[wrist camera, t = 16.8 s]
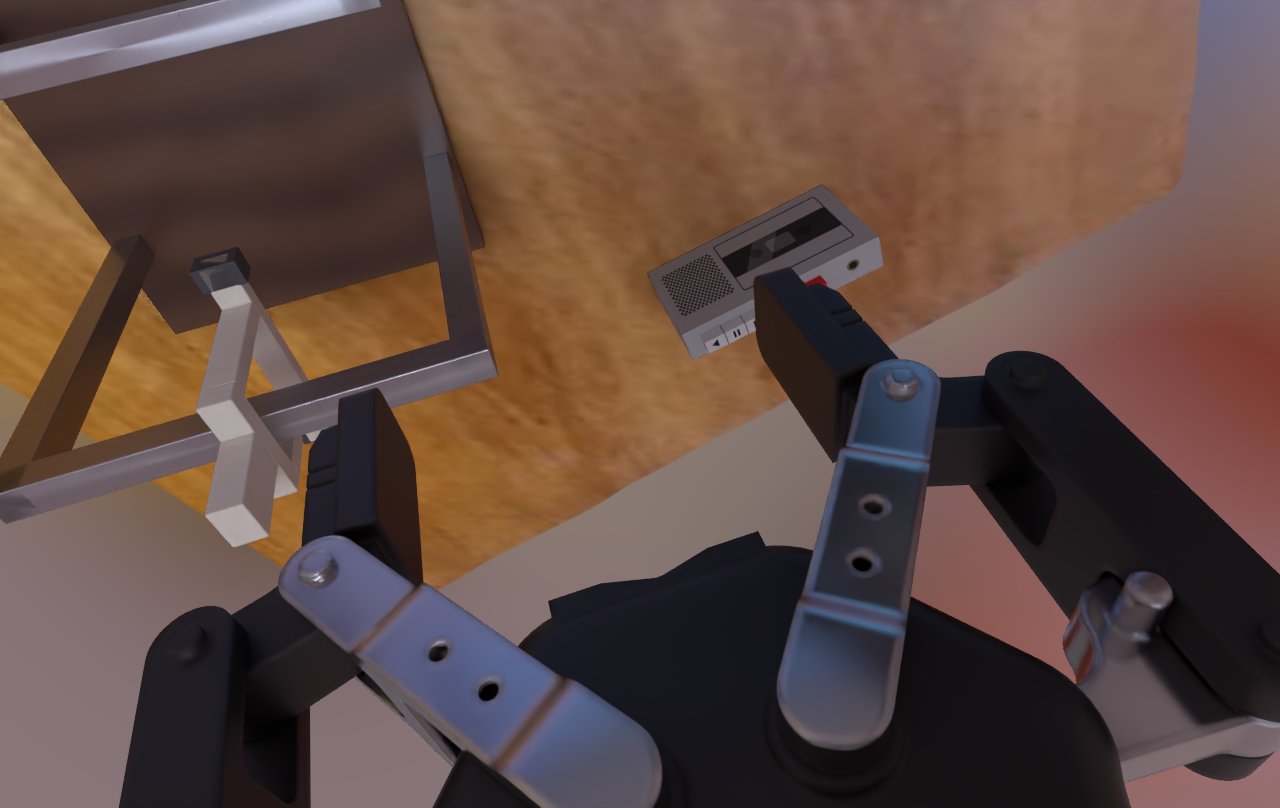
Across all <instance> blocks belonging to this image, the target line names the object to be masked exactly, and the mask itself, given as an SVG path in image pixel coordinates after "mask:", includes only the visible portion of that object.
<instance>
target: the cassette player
mask: <svg viewBox="0 0 1280 808" xmlns="http://www.w3.org/2000/svg"><path fill="white" fill-rule="evenodd" d="M882 266H884V265H883V259H882V253H881V247H880V241H879V236H878V235H877V234H875V233H874V232H873V231H872V230H871V229H870V228H869V227H868V226H867V225H866V224H864V223H863V222H862V221H861V220H860V219H859V218H858V217H857V216H856V215H855V214H854V213H852V212H851V211H850V210H849V209H848V208H847V207H846V206H845V205H844V204H843V203H841V202H840V201H839V200H838V199H837V198H836V197H835V196H834V195H833V194H832V193H830V192H829V191H828V190H827V189H826V188H825V187H824V186H823V185H820V186H818V187H816V188H814V189H812V190H810V191H808V192H806V193H804V194H802V195H800V196H798V197H796V198H794V199H792V200H790V201H788V202H786V203H784V204H782V205H780V206H778V207H776V208H774V209H772V210H770V211H768V212H767V213H765V214H763V215H761V216H759V217H757V218H755V219H753V220H751V221H749V222H747V223H745V224H743V225H741V226H739V227H737V228H735V229H733V230H731V231H729V232H727V233H725V234H723V235H721V236H719V237H717V238H715V239H713V240H711V241H709V242H707V243H705V244H703V245H701V246H699V247H697V248H696V249H694V250H692V251H690V252H688V253H686V254H684V255H682V256H680V257H678V258H676V259H674V260H672V261H670V262H668V263H666V264H664V265H662V266H660V267H658V268H656V269H654V270H652V271H650V272H648V273H647V274H648V276H649V278H650V280H651V283H652V285H653V287H654V289H655V291H656V293H657V296H658V298H659V300H660V301H661V303H662V305H663V307H664V309H665V310H666V312H667V314H668V316H669V318H670V319H671V321H672V323H673V325H674V327H675V329H676V330H677V332H678V334H679V336H680V338H681V339H682V341H683V343H684V345H685V347H686V348H687V350H688V352H689V354H690V356H691V357H692V359H693V360H695V359H697V358H699V357H701V356H703V355H705V354H707V353H709V354H710V353H712V352H714V351H716V350H718V349H720V348H722V347H724V346H726V345H728V344H730V343H732V342H734V341H736V340H738V339H740V338H742V337H744V336H746V335H748V334H750V333H752V332H754V331H756V324H755V307H754V290H753V282H754V278H755V277H756V276H758V275H762V274H765V273H769V272H772V271H775V270H779V269H782V268H786V267H790V268H792V269H793V270H794V271H795V273H796V274H797V275H798V276H799V277H800V278H801V280H802V281H803V282H804V283H805V284H806V285H807V286H808V285H811V284H814V283H818V282H819V283H821V284H823V285H825V286H827V287H829V288H831V289H833V290H835V289H837V288H839V287H841V286H843V285H845V284H847V283H849V282H851V281H854V280H856V279H858V278H860V277H862V276H864V275H866V274H868V273H870V272H872V271H874V270H876V269H878V268H880V267H882Z"/></svg>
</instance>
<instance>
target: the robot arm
mask: <svg viewBox="0 0 1280 808" xmlns="http://www.w3.org/2000/svg"><path fill="white" fill-rule="evenodd" d="M753 290H754V307H755V324H756V337H757V342H758V346H759V349H760V352H761V355H762V357H763V359H764V361H765V363H766V364H767V366H768V367H769V369H770V370H771V372H772V373H773V374H774V376H775V377H776V379H777V380H778V382H779V383H780V385H781V386H782V388H783V389H784V391H785V392H786V394H787V395H788V397H789V398H790V400H791V401H792V403H793V404H794V406H795V407H796V409H797V410H798V412H799V413H800V415H801V416H802V418H803V419H804V421H805V422H806V424H807V425H808V427H809V428H810V430H811V431H812V433H813V434H814V436H815V437H816V439H817V440H818V442H819V443H820V444H821V446H822V448H823V449H824V451H825V452H826V454H827V455H828V457H829V458H830V459H831V461H832V462H833V463H834V462H837V463H836V467H835V470H834V475H833V478H832V482H831V486H830V490H829V494H828V497H827V502H826V505H825V509H824V513H823V517H822V520H821V524H820V528H819V532H818V536H817V540H816V543H815V547H814V551H813V550H809V549H805V548H800V547H793V546H765V544H764V542H763V540H762V538H761V536H760V534H759V532H758V531H757V532H755V533H751V534H748V535H745V536H742V537H739V538H736V539H733V540H730V541H727V542H724V543H721V544H718V545H715V546H712V547H709V548H707V549H705V550H704V551H702V552H700V553H699V554H697V555H695V556H694V557H692V558H690V559H689V560H687V561H686V562H684V563H682V564H681V565H679V566H677V567H676V568H674V569H672V570H671V571H669V572H667V573H666V574H664V575H662V576H660V577H657V578H651V579H641V580H630V581H621V582H610V583H601V584H598V585H595V586H592V587H589V588H586V589H583V590H580V591H577V592H574V593H571V594H568V595H565V596H562V597H559V598H556V599H553V600H550V601H548V602H549V607H550V612H551V616H552V618H550V619H549V620H547V621H545V622H544V623H542V624H541V625H540V626H539V627H537V628H536V629H535V630H533V631H532V632H531V633H530V634H529V635H528V636H527V637H526V638H525V639H524V640H523V641H522V642H521V643H520V644H519V646H516V645H515V644H513V643H512V642H510V641H509V640H508V639H506V638H505V637H503V636H502V635H500V634H499V633H498V632H496V631H494V630H493V629H492V628H490V627H489V626H488V625H486V624H485V623H483V622H482V621H480V620H479V619H478V618H476V617H475V616H473V615H472V614H470V613H469V612H468V611H466V610H464V609H463V608H462V607H460V606H459V605H457V604H456V603H455V602H453V601H452V600H450V599H449V598H447V597H446V596H445V595H443V594H442V593H440V592H439V591H438V590H436V589H435V588H433V587H432V586H430V585H428V584H427V583H424V582H423V569H422V555H421V541H420V527H419V513H418V499H417V485H416V471H415V463H414V459H413V455H412V452H411V449H410V446H409V444H408V441H407V439H406V437H405V435H404V433H403V432H402V430H401V428H400V426H399V424H398V422H397V420H396V418H395V417H394V415H393V413H392V411H391V409H390V407H389V405H388V403H387V401H386V400H385V398H384V396H383V394H382V392H381V391H380V390H379V389H378V388H373V389H369V390H366V391H363V392H359V393H356V394H353V395H349V396H346V397H342V398H340V399H339V403H338V424H337V425H336V426H333V427H330V428H326V429H323V430H321V431H320V433H319V435H318V437H317V438H316V440H315V442H314V444H313V445H312V447H311V449H310V451H309V461H308V473H309V474H308V475H307V485H306V487H307V491H306V497H305V510H304V522H303V534H302V546H301V548H300V549H299V550H297V551H296V552H295V553H294V554H293V555H292V556H291V557H290V558H289V560H288V561H287V562H286V563H285V565H284V567H283V568H282V571H281V573H280V576H279V580H278V586H277V587H276V588H274V589H273V590H272V591H270V592H269V593H267V594H266V595H264V596H263V597H261V598H259V599H258V600H256V601H254V602H253V603H251V604H249V605H248V606H246V607H244V608H243V609H241V610H239V611H237V612H236V613H234V614H233V615H230V614H229V613H228V612H227V611H226V610H225V609H223V608H220V607H217V606H205V607H200V608H196V609H193V610H191V611H189V612H186V613H185V614H183V615H181V616H179V617H178V618H177V619H175V620H174V621H172V622H171V623H170V624H169V625H168V626H166V627H165V628H164V629H163V630H162V631H161V632H160V633H159V635H158V636H157V637H156V639H155V640H154V642H153V643H152V645H151V646H150V648H149V651H148V653H147V656H146V660H145V665H144V671H143V677H142V682H141V688H140V693H139V698H138V704H137V710H136V715H135V721H134V727H133V732H132V738H131V743H130V749H129V755H128V760H127V765H126V771H125V776H124V782H123V788H122V793H121V799H120V804H119V808H311V805H310V803H311V800H310V799H311V797H310V706H311V705H313V704H314V703H316V702H317V701H319V700H320V699H322V698H323V697H325V696H326V695H328V694H329V693H331V692H332V691H334V690H336V689H337V688H338V687H340V686H342V685H343V684H344V683H346V682H348V681H349V680H351V679H352V678H355V679H356V680H357V681H359V682H360V683H361V684H362V685H363V686H364V687H366V688H367V689H368V690H369V691H370V692H371V693H372V694H373V695H375V696H376V697H377V698H378V699H379V700H380V701H382V702H383V703H384V704H385V705H386V706H387V707H388V708H389V709H391V710H392V711H393V712H394V713H395V714H396V715H398V716H399V717H400V718H401V719H402V720H403V721H404V722H406V723H407V724H408V725H409V726H410V727H411V728H412V729H413V730H415V731H416V732H417V733H418V734H419V735H420V736H421V737H422V738H423V739H424V740H425V741H426V742H427V743H428V744H429V745H430V746H431V747H432V748H433V749H434V750H435V751H436V752H437V753H438V754H439V755H440V756H441V757H442V758H443V759H444V760H445V761H446V762H447V763H449V764H450V765H451V766H452V767H453V768H452V770H451V772H450V774H449V776H448V778H447V780H446V782H445V784H444V786H443V788H442V790H441V792H440V794H439V796H438V798H437V800H436V802H435V804H434V806H433V808H1131V806H1130V802H1129V799H1128V795H1127V792H1126V788H1125V784H1124V783H1126V782H1130V781H1133V780H1136V779H1139V778H1143V777H1146V776H1149V775H1153V774H1156V773H1159V772H1163V771H1166V770H1169V769H1172V768H1176V767H1179V766H1182V765H1184V766H1185V767H1187V768H1189V769H1190V770H1192V771H1194V772H1196V773H1198V774H1200V775H1202V776H1206V777H1209V778H1212V779H1217V780H1224V781H1232V780H1239V779H1242V778H1245V777H1247V776H1249V775H1250V774H1252V773H1253V772H1254V771H1255V770H1256V769H1257V768H1258V767H1259V766H1260V765H1261V764H1262V763H1264V762H1265V761H1266V760H1267V759H1268V758H1269V757H1270V756H1271V755H1272V754H1273V753H1274V752H1275V751H1276V750H1277V749H1278V748H1280V574H1279V573H1278V572H1276V570H1275V569H1273V568H1272V567H1271V566H1270V565H1269V564H1268V563H1267V562H1266V561H1265V560H1264V559H1263V558H1262V557H1261V556H1260V555H1259V554H1258V553H1257V552H1256V551H1255V550H1254V549H1253V548H1252V547H1251V546H1249V545H1248V544H1247V543H1246V542H1245V541H1244V540H1243V539H1242V538H1241V537H1240V536H1239V535H1238V534H1237V533H1236V532H1235V531H1234V530H1233V529H1232V528H1231V527H1230V526H1229V525H1228V524H1227V523H1226V522H1224V520H1223V519H1221V518H1220V517H1219V516H1218V515H1217V514H1216V513H1215V512H1214V511H1213V510H1212V509H1211V508H1210V507H1209V506H1208V505H1207V504H1206V503H1205V502H1204V501H1203V500H1202V499H1201V498H1200V497H1199V496H1198V495H1197V494H1195V493H1194V492H1193V491H1192V490H1191V489H1190V488H1189V487H1188V486H1187V485H1186V484H1185V483H1184V482H1183V481H1182V480H1181V479H1180V478H1179V477H1178V476H1177V475H1176V474H1175V473H1174V472H1173V471H1172V470H1170V468H1169V467H1167V466H1166V465H1165V464H1164V463H1163V462H1162V461H1161V460H1160V459H1159V458H1158V457H1157V456H1156V455H1155V454H1154V453H1153V452H1152V451H1151V450H1150V449H1149V448H1148V447H1147V446H1146V445H1145V444H1144V443H1143V442H1141V441H1140V440H1139V439H1138V438H1137V437H1136V436H1135V435H1134V434H1133V433H1132V432H1131V431H1130V430H1129V429H1128V428H1127V427H1126V426H1125V425H1124V424H1123V423H1122V422H1121V421H1120V420H1119V419H1117V417H1116V416H1114V415H1113V414H1112V413H1111V412H1110V411H1109V410H1108V409H1107V408H1106V407H1105V406H1104V405H1103V404H1102V403H1101V402H1100V401H1099V400H1098V399H1097V398H1096V397H1095V396H1094V395H1093V394H1091V392H1090V391H1088V390H1087V389H1086V388H1085V387H1084V386H1083V385H1082V384H1081V383H1080V382H1079V381H1078V380H1077V379H1076V378H1075V377H1074V376H1073V375H1072V374H1071V373H1070V372H1069V371H1068V370H1067V369H1065V367H1064V366H1062V365H1061V364H1060V363H1059V362H1057V361H1056V360H1054V359H1052V358H1050V357H1048V356H1046V355H1043V354H1040V353H1035V352H1029V351H1012V352H1006V353H1003V354H1000V355H998V356H996V357H994V358H993V359H992V360H991V361H990V362H989V363H988V365H987V367H986V370H985V375H984V376H971V377H970V376H969V377H953V378H943V377H938V376H937V374H936V373H935V372H934V371H932V369H930V368H929V367H927V366H925V365H923V364H921V363H919V362H915V361H911V360H905V359H899V358H898V357H897V356H896V355H895V354H894V353H893V352H892V351H891V350H890V349H889V347H888V346H887V345H886V344H885V343H884V342H883V341H882V339H881V338H880V337H879V336H878V335H877V334H876V333H875V332H874V331H873V329H872V328H871V327H870V326H869V325H868V324H867V323H866V322H865V321H863V320H862V317H861V316H860V315H859V314H858V313H857V312H856V311H855V309H854V310H853V309H852V306H851V305H850V304H849V303H848V302H847V301H846V299H845V298H844V297H843V296H842V295H841V294H840V293H839V292H837V291H835V290H833V289H831V288H829V287H827V286H825V285H823V284H821V283H819V282H818V283H814V284H811V285H808V286H807V285H806V284H805V283H804V282H803V281H802V280H801V278H800V277H799V276H798V275H797V274H796V273H795V271H794V270H793V269H792V268H790V267H786V268H782V269H779V270H775V271H772V272H769V273H765V274H762V275H758V276H756V277H755V278H754V282H753ZM952 485H970V487H971V488H972V489H973V491H974V492H975V493H976V495H977V496H978V497H979V499H980V500H981V501H982V503H983V504H984V506H985V507H986V508H987V510H988V511H989V512H990V514H991V515H992V516H993V518H994V519H995V520H996V522H997V523H998V524H999V526H1000V527H1001V528H1002V530H1003V531H1004V532H1005V534H1006V535H1007V537H1008V538H1009V539H1010V540H1011V542H1012V543H1013V544H1014V546H1015V547H1016V549H1017V550H1018V551H1019V552H1020V554H1021V555H1022V557H1023V558H1024V559H1025V561H1026V562H1027V563H1028V565H1029V566H1030V567H1031V569H1032V570H1033V572H1034V573H1035V574H1036V576H1037V577H1038V578H1039V580H1040V581H1041V582H1042V584H1043V585H1044V586H1045V588H1046V589H1047V590H1048V592H1049V593H1050V594H1051V596H1052V597H1053V599H1054V600H1055V601H1056V603H1057V604H1058V605H1059V607H1060V608H1061V609H1062V611H1063V612H1064V613H1065V615H1066V616H1067V617H1068V619H1069V620H1070V621H1069V623H1068V625H1067V628H1066V630H1065V632H1064V635H1063V650H1064V652H1065V655H1066V658H1067V660H1068V662H1069V664H1070V666H1071V667H1072V669H1073V671H1074V675H1075V677H1076V684H1074V683H1073V682H1072V681H1070V679H1069V678H1068V677H1066V676H1065V675H1064V674H1062V673H1061V672H1059V671H1058V670H1057V669H1055V668H1053V667H1052V666H1050V665H1048V664H1047V663H1045V662H1043V661H1042V660H1040V659H1038V658H1036V657H1034V656H1032V655H1030V654H1028V653H1025V652H1024V651H1022V650H1019V649H1017V648H1015V647H1013V646H1011V645H1009V644H1007V643H1005V642H1003V641H1001V640H999V639H997V638H995V637H993V636H991V635H989V634H987V633H985V632H983V631H981V630H978V629H976V628H974V627H972V626H970V625H968V624H966V623H964V622H962V621H960V620H958V619H956V618H954V617H952V616H950V615H948V614H946V613H944V612H941V611H939V610H938V609H936V608H933V607H931V606H929V605H927V604H925V603H923V602H921V601H919V600H917V599H915V598H913V597H911V589H912V582H913V576H914V569H915V562H916V555H917V548H918V542H919V535H920V528H921V522H922V515H923V508H924V502H925V495H926V488H927V487H928V486H952Z"/></svg>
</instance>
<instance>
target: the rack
mask: <svg viewBox="0 0 1280 808" xmlns="http://www.w3.org/2000/svg"><path fill="white" fill-rule="evenodd" d="M0 100H3V101H4V102H5V103H6V105H7V106H8V107H9V109H10V110H11V111H12V113H13V114H14V115H15V117H16V118H17V120H18V121H19V122H20V124H21V125H22V126H23V128H24V129H25V130H26V132H27V133H28V134H29V136H30V137H31V139H32V140H33V141H34V143H35V144H36V145H37V147H38V148H39V149H40V151H41V152H42V153H43V155H44V156H45V158H46V159H47V160H48V162H49V163H50V164H51V166H52V167H53V168H54V170H55V171H56V172H57V174H58V175H59V177H60V178H61V179H62V181H63V182H64V183H65V185H66V186H67V187H68V189H69V190H70V191H71V193H72V194H73V196H74V197H75V198H76V200H77V201H78V202H79V204H80V205H81V206H82V208H83V209H84V211H85V212H86V213H87V215H88V216H89V217H90V219H91V220H92V221H93V223H94V224H95V225H96V227H97V228H98V230H99V231H100V232H101V234H102V235H103V236H104V238H105V239H106V240H107V242H108V243H109V244H110V246H111V249H110V251H109V253H108V255H107V256H106V258H105V260H104V262H103V264H102V266H101V268H100V270H99V272H98V274H97V275H96V277H95V279H94V281H93V283H92V285H91V287H90V289H89V291H88V292H87V294H86V296H85V298H84V300H83V302H82V304H81V306H80V308H79V310H78V311H77V313H76V315H75V317H74V319H73V321H72V323H71V325H70V327H69V328H68V330H67V332H66V334H65V336H64V338H63V340H62V342H61V344H60V345H59V347H58V349H57V351H56V353H55V355H54V357H53V359H52V361H51V363H50V364H49V366H48V368H47V370H46V372H45V374H44V376H43V378H42V380H41V381H40V383H39V385H38V387H37V389H36V391H35V393H34V395H33V397H32V398H31V400H30V402H29V404H28V406H27V408H26V410H25V412H24V414H23V416H22V418H21V419H20V421H19V423H18V425H17V427H16V429H15V431H14V433H13V434H12V437H11V438H10V440H9V442H8V444H7V446H6V448H5V450H4V451H3V453H2V455H1V457H0V519H1V520H2V521H3V522H4V523H6V524H8V523H11V522H14V521H18V520H21V519H25V518H27V517H31V516H35V515H38V514H41V513H44V512H47V511H51V510H54V509H57V508H61V507H64V506H67V505H71V504H74V503H77V502H81V501H84V500H87V499H91V498H94V497H97V496H101V495H104V494H107V493H111V492H114V491H117V490H121V489H124V488H127V487H131V486H134V485H137V484H141V483H144V482H148V481H151V480H154V479H158V478H161V477H164V476H168V475H171V474H174V473H178V472H181V471H184V470H188V469H191V468H194V467H198V466H201V465H204V464H208V463H211V462H214V461H217V456H218V452H219V447H220V443H221V442H220V441H219V439H218V438H217V437H216V436H215V434H214V433H213V432H212V430H211V429H210V428H209V427H208V425H207V424H206V423H205V422H204V420H203V419H202V418H201V416H200V415H199V414H198V413H196V414H193V415H190V416H186V417H183V418H179V419H176V420H173V421H169V422H166V423H162V424H159V425H155V426H152V427H149V428H145V429H142V430H138V431H135V432H132V433H128V434H125V435H121V436H118V437H114V438H111V439H108V440H104V441H101V442H97V443H94V444H91V445H87V446H84V447H80V448H77V449H74V450H72V448H73V446H74V443H75V441H76V439H77V436H78V434H79V432H80V429H81V427H82V425H83V422H84V420H85V418H86V416H87V413H88V411H89V409H90V406H91V404H92V402H93V399H94V397H95V395H96V392H97V390H98V388H99V385H100V383H101V381H102V378H103V376H104V374H105V371H106V369H107V367H108V364H109V362H110V360H111V357H112V355H113V353H114V350H115V348H116V346H117V343H118V341H119V339H120V336H121V334H122V332H123V329H124V327H125V325H126V322H127V320H128V318H129V315H130V313H131V311H132V308H133V306H134V304H135V301H136V299H137V297H138V294H139V292H140V290H141V288H142V289H143V291H144V292H145V293H146V295H147V296H148V297H149V299H150V300H151V301H152V303H153V304H154V306H155V307H156V308H157V310H158V311H159V312H160V314H161V315H162V316H163V318H164V319H165V321H166V322H167V323H168V325H169V326H170V327H171V329H172V330H173V331H174V333H175V334H178V333H182V332H185V331H189V330H192V329H196V328H199V327H203V326H207V325H210V324H214V323H217V322H219V319H220V316H221V312H222V309H221V308H220V306H219V305H218V303H217V302H216V300H215V299H214V297H213V296H212V294H211V293H210V294H207V295H203V293H202V292H201V291H200V289H199V288H198V286H197V285H196V283H195V282H194V280H193V279H192V277H191V276H190V274H189V272H190V269H191V266H192V264H193V261H194V259H195V258H198V257H201V256H205V255H209V254H212V253H216V252H219V251H223V250H227V249H230V248H234V247H239V249H240V250H241V252H242V254H243V255H244V257H245V259H246V260H247V262H248V264H249V265H250V267H251V271H250V275H249V280H248V283H249V284H250V286H251V287H252V289H253V291H254V292H255V294H256V296H257V297H258V299H259V300H260V302H261V304H262V305H263V307H264V308H265V309H267V308H271V307H274V306H278V305H281V304H285V303H288V302H292V301H295V300H299V299H303V298H306V297H310V296H313V295H317V294H320V293H324V292H327V291H331V290H335V289H338V288H342V287H345V286H349V285H352V284H356V283H359V282H363V281H367V280H370V279H374V278H377V277H381V276H384V275H388V274H391V273H395V272H399V271H402V270H406V269H409V268H413V267H416V266H420V265H423V264H427V263H431V262H434V261H438V263H439V270H440V276H441V283H442V290H443V297H444V303H445V310H446V317H447V324H448V330H449V337H450V339H449V340H446V341H442V342H439V343H436V344H432V345H429V346H425V347H422V348H419V349H415V350H412V351H408V352H405V353H401V354H398V355H395V356H391V357H388V358H384V359H381V360H378V361H374V362H371V363H367V364H364V365H360V366H357V367H354V368H350V369H347V370H343V371H340V372H337V373H333V374H330V375H326V376H323V377H319V378H316V379H313V380H309V381H306V382H302V383H299V384H296V385H292V386H289V387H285V388H282V389H278V390H275V391H272V392H268V393H265V394H261V395H258V396H255V397H251V398H248V399H247V400H248V402H249V403H250V404H251V406H252V407H253V409H254V410H255V411H256V413H257V414H258V416H259V417H260V418H261V420H262V421H263V423H264V424H265V425H266V427H267V428H268V430H269V431H270V433H271V434H272V435H273V437H274V438H275V440H276V441H277V442H281V441H284V440H288V439H291V438H294V437H298V436H301V435H304V434H308V433H311V432H314V431H318V430H321V429H324V428H328V427H331V426H334V425H337V424H338V403H339V399H340V398H342V397H346V396H349V395H353V394H356V393H359V392H363V391H366V390H369V389H373V388H378V389H379V390H380V391H381V392H382V394H383V396H384V398H385V400H386V401H387V403H388V405H389V407H390V409H391V408H394V407H398V406H401V405H404V404H408V403H411V402H414V401H418V400H421V399H424V398H428V397H431V396H434V395H438V394H441V393H444V392H448V391H451V390H454V389H458V388H461V387H464V386H468V385H471V384H475V383H478V382H481V381H485V380H488V379H491V378H495V377H498V375H499V374H498V370H497V365H496V361H495V356H494V352H493V347H492V343H491V338H490V333H489V329H488V324H487V320H486V315H485V311H484V306H483V302H482V297H481V292H480V288H479V283H478V279H477V274H476V270H475V265H474V261H473V256H472V252H471V251H473V250H477V249H480V248H484V247H485V243H484V239H483V235H482V232H481V229H480V227H479V224H478V221H477V218H476V215H475V212H474V209H473V206H472V203H471V200H470V197H469V194H468V191H467V188H466V185H465V182H464V179H463V176H462V173H461V170H460V167H459V165H458V162H457V159H456V156H455V153H454V150H453V147H452V144H451V141H450V138H449V135H448V132H447V129H446V126H445V123H444V120H443V117H442V114H441V111H440V108H439V105H438V103H437V100H436V97H435V94H434V91H433V88H432V85H431V82H430V79H429V76H428V73H427V70H426V67H425V64H424V61H423V58H422V55H421V52H420V49H419V46H418V43H417V41H416V38H415V35H414V32H413V29H412V26H411V23H410V20H409V17H408V14H407V11H406V8H405V5H404V2H403V0H0Z"/></svg>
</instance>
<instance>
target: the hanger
mask: <svg viewBox="0 0 1280 808" xmlns="http://www.w3.org/2000/svg"><path fill="white" fill-rule="evenodd" d="M250 271H251V267H250V265H249V264H248V262H247V260H246V259H245V257H244V255H243V254H242V252H241V250H240V249H239V247H234V248H230V249H227V250H223V251H219V252H216V253H212V254H209V255H205V256H201V257H198V258H195V259H194V261H193V264H192V266H191V269H190V272H189V274H190V276H191V277H192V279H193V280H194V282H195V283H196V285H197V286H198V288H199V289H200V291H201V292H202V293H203V295H207V294H210V293H211V294H212V296H213V297H214V299H215V300H216V302H217V303H218V305H219V306H220V308H221V309H222V312H221V316H220V319H219V323H218V327H217V331H216V335H215V338H214V342H213V346H212V350H211V354H210V357H209V361H208V365H207V369H206V373H205V376H204V380H203V384H202V388H201V393H200V396H199V400H198V403H197V407H196V411H197V413H198V414H199V415H200V416H201V418H202V419H203V420H204V422H205V423H206V424H207V425H208V427H209V428H210V429H211V430H212V432H213V433H214V434H215V436H216V437H217V438H218V439H219V441H220V442H221V443H220V447H219V452H218V456H217V461H216V466H215V470H214V475H213V480H212V484H211V489H210V494H209V498H208V503H207V508H206V512H205V517H206V518H207V519H208V520H209V521H210V522H211V523H212V524H213V525H214V527H215V528H216V529H217V530H218V531H219V532H220V533H221V534H222V535H223V537H224V538H225V539H226V540H227V541H228V542H229V543H230V544H231V546H232V547H237V546H240V545H243V544H246V543H249V542H253V541H256V540H259V539H262V538H265V537H268V536H269V532H270V524H271V516H272V508H273V500H274V499H275V498H278V497H282V496H285V495H288V494H291V493H295V492H297V491H298V483H299V473H300V465H301V454H302V443H304V444H308V443H311V442H315V440H316V438H317V437H318V435H319V433H320V431H321V430H323V429H321V430H318V431H314V432H311V433H308V434H304V435H301V436H298V437H294V438H291V439H288V440H284V441H281V442H277V441H276V440H275V438H274V437H273V435H272V434H271V433H270V431H269V430H268V428H267V427H266V425H265V424H264V423H263V421H262V420H261V418H260V417H259V416H258V414H257V413H256V411H255V410H254V409H253V407H252V406H251V404H250V403H249V402H248V400H247V399H246V397H245V396H244V394H245V390H246V385H247V380H248V374H249V369H250V364H251V359H252V356H253V357H254V359H255V360H256V362H257V363H258V365H259V366H260V368H261V369H262V371H263V372H264V374H265V375H266V377H267V378H268V380H269V381H270V383H271V384H272V386H273V387H274V389H275V390H278V389H282V388H285V387H289V386H292V385H296V384H299V383H302V382H306V381H309V380H308V378H307V377H306V375H305V373H304V372H303V370H302V368H301V367H300V365H299V364H298V362H297V360H296V359H295V357H294V356H293V354H292V352H291V351H290V349H289V347H288V346H287V344H286V343H285V341H284V339H283V338H282V336H281V334H280V333H279V331H278V330H277V328H276V326H275V325H274V323H273V321H272V320H271V318H270V317H269V315H268V313H267V312H266V310H265V308H264V307H263V305H262V304H261V302H260V300H259V299H258V297H257V296H256V294H255V292H254V291H253V289H252V287H251V286H250V284H249V283H248V280H249V275H250ZM334 426H336V425H334ZM331 427H333V426H331ZM328 428H330V427H328ZM324 429H326V428H324Z"/></svg>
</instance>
